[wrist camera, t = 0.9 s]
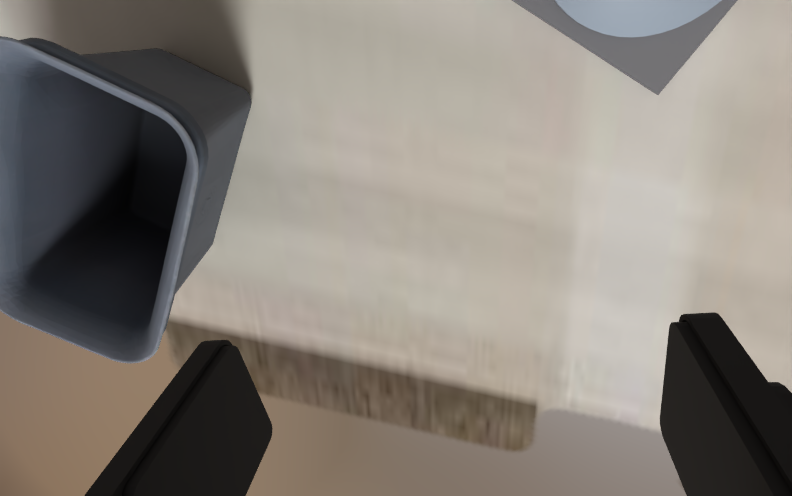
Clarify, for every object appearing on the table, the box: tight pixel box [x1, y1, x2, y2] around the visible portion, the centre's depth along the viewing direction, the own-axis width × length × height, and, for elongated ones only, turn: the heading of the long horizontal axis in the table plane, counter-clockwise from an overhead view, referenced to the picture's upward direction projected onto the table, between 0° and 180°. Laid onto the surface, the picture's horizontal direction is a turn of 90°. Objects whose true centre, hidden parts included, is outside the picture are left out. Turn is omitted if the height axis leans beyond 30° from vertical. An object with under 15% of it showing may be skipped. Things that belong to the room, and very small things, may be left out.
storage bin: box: [0, 36, 252, 363], centre depth 36 cm, size 21×16×14 cm
